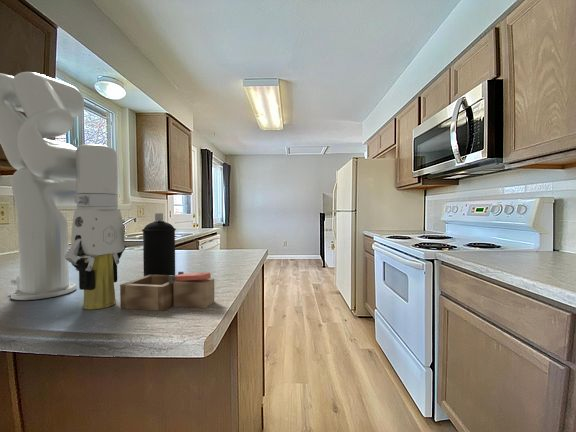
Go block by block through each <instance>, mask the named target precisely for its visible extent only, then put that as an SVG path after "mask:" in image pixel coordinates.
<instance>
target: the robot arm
mask: <svg viewBox="0 0 576 432" xmlns="http://www.w3.org/2000/svg"><path fill="white" fill-rule="evenodd" d="M84 108H85V101H84V96H83V94H82V92H81V91H80V90H79V89H78V88H77V87H76V86H74V85H71V84H69V83H67V82H64V81H61V80H58V79H55V78H52V77H49V76H46V75H45V74H40V73H38V72H32V71H22V72H19V73H17V74H16V75H14V76H13V75H11V74H10V75H9V74H6V73H1V72H0V145H1V146H0V147H1V148H2V151H3V153H4V155H5V157H6V159H7V161H8V163H9V164H10V166H11V167H12V168H13V169H15V170H16V171H14V173H13V175H12V176H11V182H10V184H11V191H12V195H13V198H14V202H15V206H16V215H17V237H18V239H17V240H18V241H17V242H18V271H19V272H18V275H19V276H16V278H13V279H11V280H10V281H9V282H10V284H11V285H16V289H15V290H14V291H12V292H11V293H10V299H12V300H15V301H31V300H33V301H34V300H41V299H48V298H53V297H59V296H63V295H66V294H69V293H72V292H74V291H75V290H77V283H74V282H70V280H69V279H70V277H69V275H70V274H69V273H70V272H69V271H70V270H69V267H70V266H69V264H70V263H71V265H72V266H73V267H74V268H75V271H77V272H78V282H79V283H78V288H79V290H81V291H82V290H83V291H84V290H93V289H95V271H94V270H92V267H93V263H94V259H95V257H98V256H104V255H107V254H113V270H114V283H117V282H118V264H119V263H120V259H121V257H122V255H123V253H124V252H125V250H126V248H127V247H126V243H125V242H126V241H125V229H124V220H123V217H122V216H123V215H122V212H121V209H119V207H118V206H119V205H118V203H119V201H118V200H119V199H118V193H119V192H118V155H117V151H116V150H115V149H114V148H113V147H111V146H108V145H104V144H94V143H87V144H86V143H83V144H80V145H78V146H77V147H75V146H74V145H72V144H70V143H66V142H63V141H57V140H53V139H52V138H55V137H60V136H63V135H65V134H68V133H69V132H70V131H71V130H72V128H73V127H74V122H75V121H74V118H77V117H79V116H80V115H81V114H82V112H83V111H84ZM21 112H22V113H24V114H25V115H24V114H22V113H21ZM50 138H51V139H50ZM58 206H59V207H60V206H69V207H70V206H76V209H75V210H74V212H73V216H72V217H73V219H72V223H71V237H70V238H71V242H70V243H71V244H70V245H71V246H70V247H69V225H68V220H67V218H66V216H65V215H64V214H63V212H61V210H60V209H59V207H58ZM85 254H86V255H85ZM85 259H87V263H85Z"/></svg>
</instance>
